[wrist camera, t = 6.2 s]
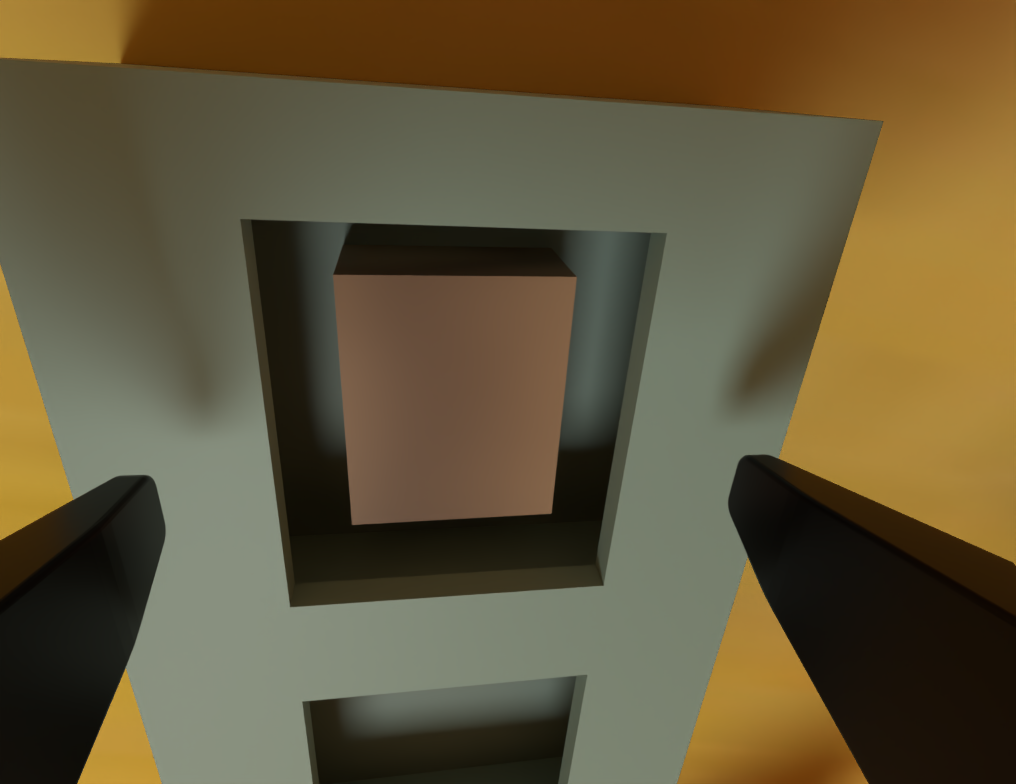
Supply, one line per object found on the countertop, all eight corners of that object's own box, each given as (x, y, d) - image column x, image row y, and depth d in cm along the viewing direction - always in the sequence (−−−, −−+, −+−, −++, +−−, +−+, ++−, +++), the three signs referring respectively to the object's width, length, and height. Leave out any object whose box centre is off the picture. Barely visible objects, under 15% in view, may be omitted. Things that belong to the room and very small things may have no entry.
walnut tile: (550, 248, 12) (577, 276, 10) (532, 460, 14) (551, 513, 13) (342, 244, 11) (333, 274, 10) (358, 467, 14) (352, 525, 12)
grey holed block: (720, 106, 13) (883, 121, 9) (599, 710, 22) (650, 870, 18) (118, 63, 11) (-65, 54, 7) (251, 747, 20) (210, 937, 16)
